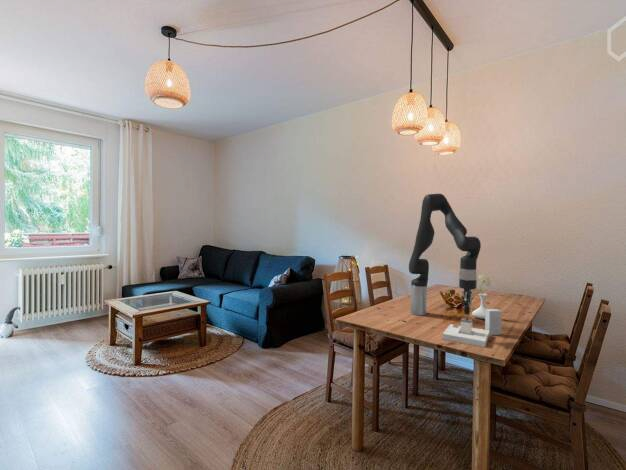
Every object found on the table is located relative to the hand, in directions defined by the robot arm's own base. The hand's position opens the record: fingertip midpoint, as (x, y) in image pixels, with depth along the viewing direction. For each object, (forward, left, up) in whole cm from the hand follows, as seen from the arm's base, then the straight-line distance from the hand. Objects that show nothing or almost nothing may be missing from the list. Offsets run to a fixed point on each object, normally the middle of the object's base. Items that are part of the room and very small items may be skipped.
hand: (466, 314), depth 160 cm
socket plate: (0, 0, -11) cm, 11 cm away
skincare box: (-14, +10, -12) cm, 21 cm away
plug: (0, 0, -11) cm, 11 cm away
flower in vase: (-43, +2, -12) cm, 45 cm away
